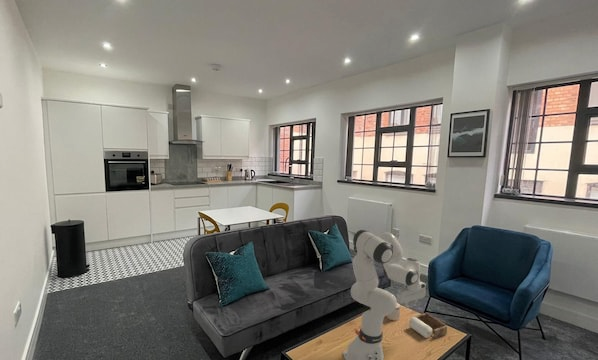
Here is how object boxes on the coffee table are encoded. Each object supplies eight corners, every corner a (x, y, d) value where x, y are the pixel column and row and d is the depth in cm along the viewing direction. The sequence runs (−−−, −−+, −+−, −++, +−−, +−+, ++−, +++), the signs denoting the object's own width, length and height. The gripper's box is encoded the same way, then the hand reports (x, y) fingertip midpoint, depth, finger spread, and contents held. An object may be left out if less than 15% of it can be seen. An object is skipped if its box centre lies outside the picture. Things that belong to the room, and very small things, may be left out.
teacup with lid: (402, 320, 190) (402, 304, 189) (388, 321, 189) (389, 304, 188) (394, 310, 202) (395, 295, 201) (382, 311, 201) (382, 295, 200)
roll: (430, 338, 173) (433, 327, 174) (423, 338, 170) (426, 327, 171) (414, 327, 184) (417, 316, 185) (407, 326, 181) (410, 316, 182)
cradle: (435, 338, 172) (435, 329, 171) (413, 323, 187) (414, 315, 186) (446, 334, 176) (447, 325, 176) (424, 320, 191) (425, 311, 190)
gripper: (402, 290, 163) (401, 313, 165) (428, 283, 172) (426, 305, 173) (394, 285, 169) (393, 307, 170) (419, 279, 178) (418, 300, 179)
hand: (410, 306), depth 172 cm, fingers open, 4 cm apart
